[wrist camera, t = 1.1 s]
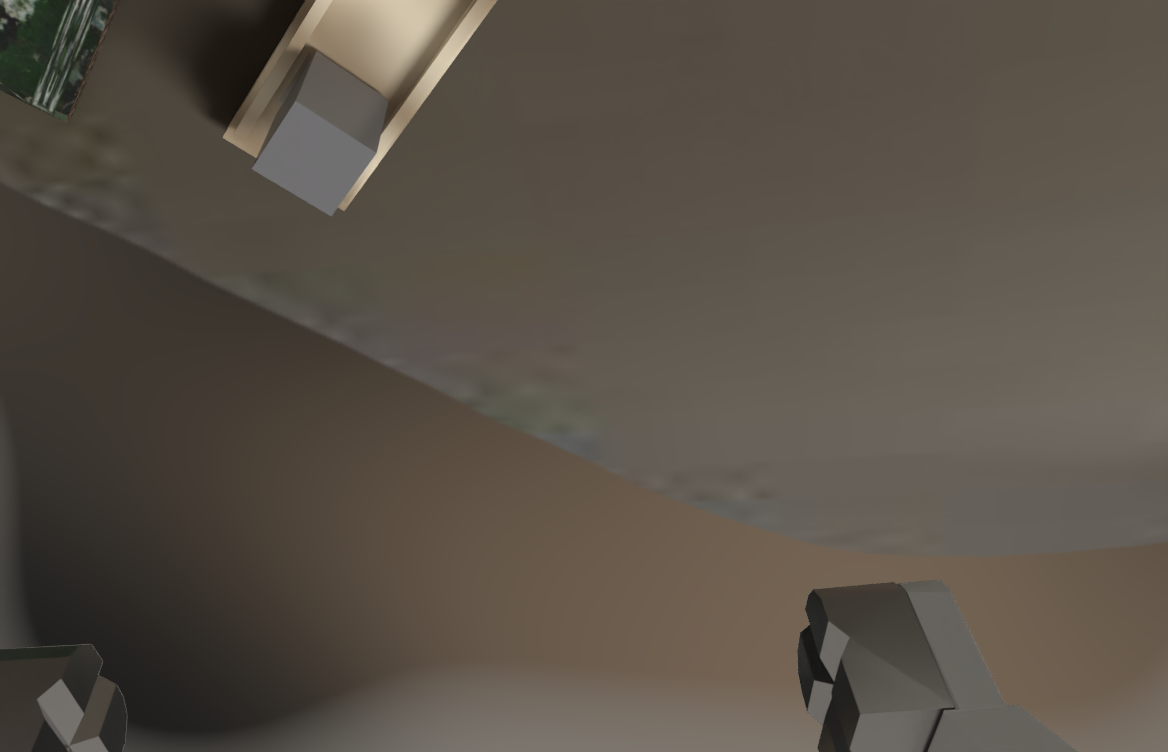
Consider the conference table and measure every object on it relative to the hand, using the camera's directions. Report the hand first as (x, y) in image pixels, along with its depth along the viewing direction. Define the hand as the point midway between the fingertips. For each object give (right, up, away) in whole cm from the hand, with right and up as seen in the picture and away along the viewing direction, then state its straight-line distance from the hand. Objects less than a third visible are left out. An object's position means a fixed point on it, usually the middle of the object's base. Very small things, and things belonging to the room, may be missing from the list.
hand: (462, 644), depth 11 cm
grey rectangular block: (-11, +16, +36) cm, 41 cm away
